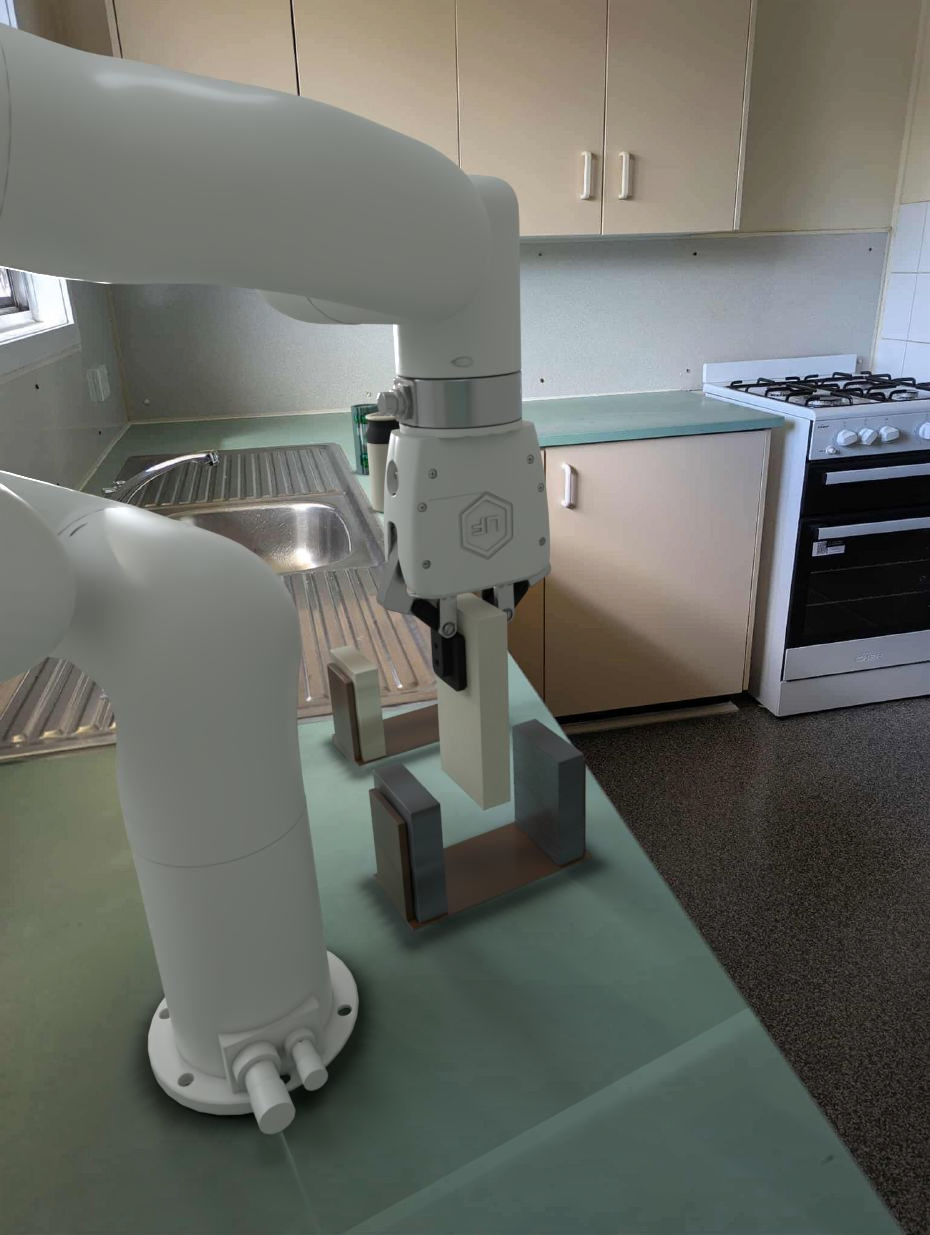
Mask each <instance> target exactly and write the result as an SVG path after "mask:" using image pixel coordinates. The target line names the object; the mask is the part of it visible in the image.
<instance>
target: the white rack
mask: <svg viewBox="0 0 930 1235" xmlns="http://www.w3.org/2000/svg"><path fill="white" fill-rule="evenodd" d="M329 654H330V662H329V663H327V664H326V670H327V677H328V686H329V696H330V703H331V713H332V719H333V721H332V722H333V729H334V733H332V734H331V738H332V744H333V745H334V746H335V748H337V749H338V751H339V752H340V753H341V754H342V756H343V757H344V758H345V759H346V761H347V762H348V761H352V760H353V761H354V763H355V764H356V765H357V766H358V767H361V766H365V765H367V764H371V763H374V762H377V761H380V760H383V759H386V758H390V757H393V756H396V755H400V754H402V753H406V752H409V751H412V750H416V749H418V748H422V747H424V746H428V745H432V744H434V743H438V742H440V737H439V718H438V703H435V704H434V703H433V704H431V705H428V706H424V707H421V708H418V709H417V708H416V709H414V710H411V711H407V712H403V713H400V714H397V715H394V716H390V717H386V718H383V709H382V708H383V707H382V698H381V686H380V685H381V684H380V675H379V668H378V667H377V666H376V665H375V664H374V663H373V662H372V661H371V660H369V659H368V658H367V657H366V656H365V655H364V654H363V653H361V651H359V650H358V649H357V648H356V647H355V646H354V645H352V644H349V645H344V646H341V647H336V648H332V649H329Z"/></svg>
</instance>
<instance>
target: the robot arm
mask: <svg viewBox="0 0 930 1235" xmlns="http://www.w3.org/2000/svg"><path fill="white" fill-rule="evenodd" d="M520 228H521V227H520V207H519V200H518V197H517V194H516V191H515V190H514V188H513V186H511V184H509V183H508V182H507V181H506V180H504V179H502V178H499V177H496V176H492V175H483V174H467V173H465V171H463V169H462V168H461V167H460V166H459V165H457V164H456V163H455V162H454V161H453V160H451V159H450V158H449V157H448V156H447V155H445V154H444V153H443V152H441V151H440V150H437V149H436V148H434V147H432V146H431V145H429V144H427V143H425V142H423V141H421V140H418V139H416V138H414V137H411V136H409V135H407V134H404V133H402V132H400V131H397V130H395V129H392V128H390V127H387V126H385V125H383V124H381V123H379V122H376V121H373V120H371V119H369V118H367V117H363V116H361V115H359V114H355V113H353V112H351V111H348V110H345V109H342V108H340V107H337V106H335V105H332V104H328V103H325V102H322V101H319V100H315V99H312V98H309V97H305V96H302V95H297V94H293V93H290V92H286V91H281V90H276V89H272V88H267V87H263V86H259V85H254V84H250V83H249V84H247V83H244V82H238V81H233V80H227V79H221V78H216V77H212V76H206V75H201V74H196V73H192V72H187V71H182V70H180V69H179V70H178V69H174V68H170V67H166V66H163V65H162V66H161V65H158V64H154V63H149V62H145V61H139V60H134V59H129V58H122V57H116V56H111V55H110V56H109V55H103V54H98V53H94V52H88V51H85V50H81V49H77V48H74V47H71V46H67V45H65V44H61V43H59V42H55V41H53V40H49V39H46V38H44V37H41V36H39V35H36V34H33V33H30V32H27V31H25V30H22V29H20V28H17V27H15V26H12V25H9V24H7V23H4V22H1V21H0V268H3V269H8V270H12V271H19V272H23V273H28V274H32V275H36V276H43V277H48V278H55V279H63V280H72V281H73V280H74V281H84V282H88V283H89V282H90V283H97V284H111V285H171V284H172V285H173V284H177V285H178V284H179V285H181V284H182V285H207V286H208V285H209V286H221V287H222V286H224V287H233V288H242V289H249V290H254V291H255V292H256V293H257V294H258V296H259V297H260V298H261V299H262V300H263V301H264V302H265V303H266V304H267V305H269V306H270V307H271V308H273V309H274V310H276V311H277V312H279V313H281V314H282V315H284V316H287V317H289V318H291V319H293V320H297V321H300V322H305V323H309V324H316V325H344V326H345V325H346V326H359V325H391V326H392V330H393V343H394V344H393V346H394V359H395V362H394V363H395V375H396V377H393V388H391V389H389V391H382V392H379V393H378V395H377V396H376V397H377V398H376V404H377V406H378V410H379V413H380V414H381V415H382V416H385V415H392V416H394V417H396V421H397V422H399V423H400V429H396V430H392V431H391V435H390V441H389V448H388V455H387V463H386V473H385V488H384V513H383V542H384V558H385V569H384V572H383V575H382V578H381V581H380V583H379V587H378V590H377V593H376V597H375V600H376V603H377V604H378V605H380V606H381V607H383V608H384V609H385V610H387V611H389V612H393V613H398V614H403V615H406V616H413V617H415V618H417V619H418V620H419V621H421V622H422V623H423V624H425V625H426V626H427V627H429V630H430V647H431V664H432V670H433V672H434V674H435V676H436V675H437V676H438V677H439V678H440V679H441V680H442V681H444V682H445V683H446V684H448V685H449V686H450V687H451V688H453V689H454V690H455V691H456V692H459V691H462V690H465V688H466V687H467V675H466V649H465V638H464V636H463V635H462V634H460V633H459V632H458V628H457V595H461V594H465V593H474V592H477V597H479V598H481V599H483V600H484V601H486V602H488V603H490V604H491V605H493V606H495V607H497V608H498V609H500V610H502V611H504V612H505V613H507V625H508V624H510V623H511V622H512V621H513V620H514V618H515V609H516V608H517V606H518V605H519V604H520V602H521V601H522V599H523V598H524V597H525V595H526V594H527V593H528V591H529V589H530V588H533V587H534V586H536V584H538V583H539V582H541V581H542V580H543V579H545V578H546V577H548V576H549V575H550V573H551V572H552V564H551V563H550V556H551V532H550V531H551V530H550V529H551V527H550V513H549V501H548V491H547V482H546V474H545V468H544V463H543V456H542V451H541V446H540V442H539V437H538V434H537V429H536V426H535V423H534V422H533V421H530V420H526V419H523V380H522V376H523V375H522V372H523V371H522V325H521V324H522V323H521V322H522V321H521V260H520V259H521V244H520V242H521V240H520V235H521V233H520V231H521V230H520ZM407 589H408V590H409V591H410V592H408V591H407ZM411 592H413V593H411ZM47 658H52V659H58V660H63V661H67V662H68V663H71V664H72V665H73V666H75V667H76V668H77V669H79V670H80V671H81V672H83V673H84V674H85V675H86V677H87V678H89V679H90V680H91V681H93V683H96V684H97V685H98V686H99V687H100V688H102V689H103V690H104V691H105V695H107V697H108V699H107V700H108V701H109V703H110V706H111V708H112V712H113V716H114V723H115V734H116V735H115V736H116V738H115V739H116V740H115V777H116V786H117V792H118V798H119V804H120V810H121V813H122V819H123V823H124V827H125V832H126V837H127V841H128V843H129V845H130V850H131V854H132V859H133V863H134V867H135V871H136V876H137V880H138V884H139V889H140V893H141V898H142V902H143V907H144V911H145V916H146V920H147V924H148V925H147V926H148V928H149V933H150V938H151V942H152V946H153V950H154V955H155V959H156V964H157V968H158V972H159V976H160V981H161V986H162V990H163V993H164V998H163V999H162V1000H161V1002H160V1003H159V1005H158V1007H157V1008H156V1011H155V1012H154V1015H153V1016H152V1019H151V1023H150V1027H149V1029H148V1030H149V1031H148V1036H147V1052H148V1056H149V1057H148V1058H149V1061H150V1062H149V1063H150V1067H151V1070H152V1072H153V1075H154V1077H155V1079H156V1081H157V1084H158V1085H159V1086H160V1087H161V1088H162V1090H163V1091H164V1092H165V1094H167V1096H168V1097H170V1098H171V1099H173V1100H175V1102H177V1103H179V1104H181V1106H184V1107H186V1108H189V1109H192V1110H194V1111H195V1112H200V1113H206V1114H212V1115H216V1116H229V1115H230V1116H235V1115H236V1116H237V1115H238V1116H241V1115H245V1114H251V1113H253V1114H254V1117H255V1119H256V1122H257V1125H258V1128H259V1130H260V1132H262V1133H263V1134H265V1135H276V1134H278V1133H280V1132H283V1131H284V1130H285V1129H286V1128H287V1127H289V1126H290V1125H291V1124H292V1122H293V1120H294V1119H295V1117H296V1116H295V1115H296V1107H295V1105H294V1103H293V1101H292V1099H291V1098H292V1097H291V1096H290V1093H289V1092H291V1091H293V1090H295V1089H297V1088H299V1087H300V1086H302V1085H303V1087H304V1088H305V1090H307V1091H310V1092H313V1091H315V1090H318V1089H320V1088H321V1087H323V1086H324V1085H325V1084H326V1082H327V1081H328V1078H329V1072H328V1071H327V1069H326V1067H327V1066H329V1065H330V1063H332V1061H333V1060H335V1058H336V1057H337V1056H338V1055H339V1053H340V1052H341V1051H342V1050H343V1048H344V1047H345V1045H346V1043H347V1041H348V1040H349V1038H350V1036H351V1035H352V1033H353V1030H354V1027H355V1025H356V1022H357V1019H358V1013H359V1004H360V1001H359V1000H360V999H359V991H358V985H357V982H356V980H355V978H354V975H353V973H352V972H351V971H350V969H349V968H348V966H347V965H346V964H345V962H344V961H343V960H342V959H340V958H339V957H337V955H336V954H334V953H333V952H331V951H329V950H327V949H328V948H327V942H326V934H325V926H324V921H323V920H324V919H323V914H322V906H321V897H320V891H319V882H318V876H317V869H316V860H315V854H314V847H313V846H314V845H313V840H312V831H311V824H310V816H309V809H308V803H307V796H306V792H305V784H304V776H303V768H302V759H301V752H300V750H301V749H300V741H299V728H298V726H299V725H298V724H299V723H298V722H299V720H298V703H299V702H298V700H299V686H300V685H299V683H300V672H301V661H302V660H301V659H302V629H301V622H300V618H299V614H298V610H297V607H296V603H295V601H294V599H293V597H292V595H291V592H290V590H289V589H288V587H287V586H286V584H285V582H284V581H283V580H282V578H281V576H280V575H279V574H278V573H277V572H276V571H275V570H274V569H273V567H272V566H270V565H269V564H268V563H267V562H266V561H265V560H264V558H262V557H260V556H259V555H258V554H256V552H254V551H252V550H251V549H249V548H248V547H246V546H244V545H243V544H242V543H239V542H237V541H235V540H233V539H231V538H229V537H226V536H224V535H222V534H219V533H216V532H213V531H210V530H207V529H205V528H202V527H199V526H196V525H195V524H194V525H193V524H191V523H188V522H186V521H181V520H178V519H173V518H170V517H167V516H165V515H161V514H159V513H156V512H153V511H150V510H147V509H145V508H142V507H140V506H139V507H138V506H136V505H133V504H129V503H124V502H122V501H118V500H114V499H110V498H106V497H102V496H98V495H94V494H90V493H86V492H82V491H79V490H75V489H71V488H68V487H64V486H60V485H57V484H52V483H49V482H45V481H41V480H38V479H34V478H30V477H26V476H22V475H18V474H15V473H12V472H7V471H3V470H0V683H3V682H7V681H10V680H12V679H14V678H16V677H19V676H20V675H22V674H24V673H26V672H29V671H30V670H33V669H34V668H36V666H39V664H40V663H42V662H43V661H44V660H46V659H47ZM345 1008H347V1009H349V1010H351V1011H350V1012H349V1013H348V1014H347V1015H340V1014H339V1012H340V1010H342V1009H345ZM281 1076H288V1077H289V1078H290V1079H289V1081H288V1082H287V1083H285V1082H284V1080H283V1079H282V1078H281Z"/></svg>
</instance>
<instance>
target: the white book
mask: <svg viewBox="0 0 930 1235" xmlns="http://www.w3.org/2000/svg"><path fill="white" fill-rule="evenodd" d="M457 628H458V632H459V633H460V634H462V635H463V636H464V638H465V649H466V675H467V687H466V688H465V690H462V691H459V692H456V691H455V690H454V689H453V688H451V687H450V686H449V685H448V684H446V683H445V682H444V681H442V680H441V679H440V678H439V677H438V676H437V675H436V674H435V678H436V679H435V680H436V697H437V704H438V718H439V737H440V741H439V753H440V754H439V755H440V769H441V771H442V772H444V773H445V775H447V777H449V779H451V780H452V782H454V783H455V784H456V785H457V787H458V788H460V789H461V790H462V792H464V793H465V794H466V795H467V796H468V798H470V799H471V800H472V801H473V802H474V803H476V805H478V806H479V808H481V810H483V811H486V810H489V809H493V808H495V807H498V806H501V805H504V804H506V803H509V802H511V800H512V798H511V797H512V795H511V794H512V792H511V757H510V756H511V749H510V748H511V746H510V744H511V743H510V742H511V741H510V739H511V738H510V702H509V700H510V699H509V698H510V696H509V653H508V652H509V650H508V649H509V648H508V647H509V646H508V645H509V644H508V624H507V613H505V612H504V611H502V610H500V609H498V608H497V607H495V606H493V605H491V604H490V603H488V602H486V601H484V600H483V599H481V598H479V597H478V595H475V594H474V593H473V592H470V593H465V594H461V595H457Z"/></svg>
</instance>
